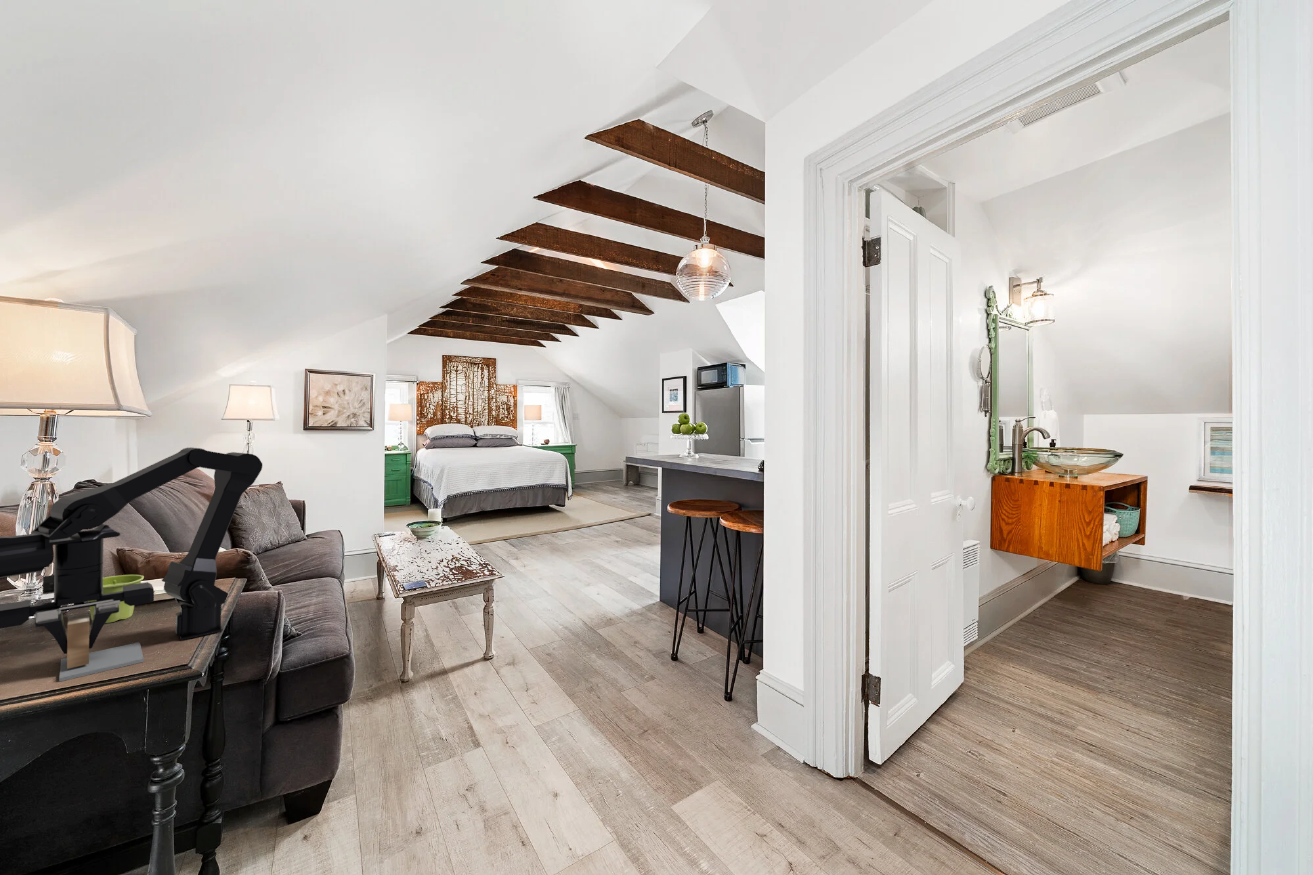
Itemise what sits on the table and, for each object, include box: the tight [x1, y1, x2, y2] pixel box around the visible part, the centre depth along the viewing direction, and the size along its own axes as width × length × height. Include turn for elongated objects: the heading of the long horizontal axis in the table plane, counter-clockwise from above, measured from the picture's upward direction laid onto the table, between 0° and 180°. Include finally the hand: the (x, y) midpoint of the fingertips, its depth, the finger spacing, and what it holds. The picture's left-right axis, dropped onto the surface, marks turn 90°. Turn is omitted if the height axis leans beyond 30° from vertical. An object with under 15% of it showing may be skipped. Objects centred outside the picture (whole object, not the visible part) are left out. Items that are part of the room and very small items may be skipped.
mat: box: [58, 642, 144, 682], centre depth 91 cm, size 10×10×1 cm
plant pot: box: [88, 574, 145, 624], centre depth 110 cm, size 9×9×9 cm
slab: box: [66, 612, 90, 669], centre depth 89 cm, size 2×5×8 cm, turn 50°
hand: (78, 650), depth 89 cm, fingers closed on slab, 2 cm apart
